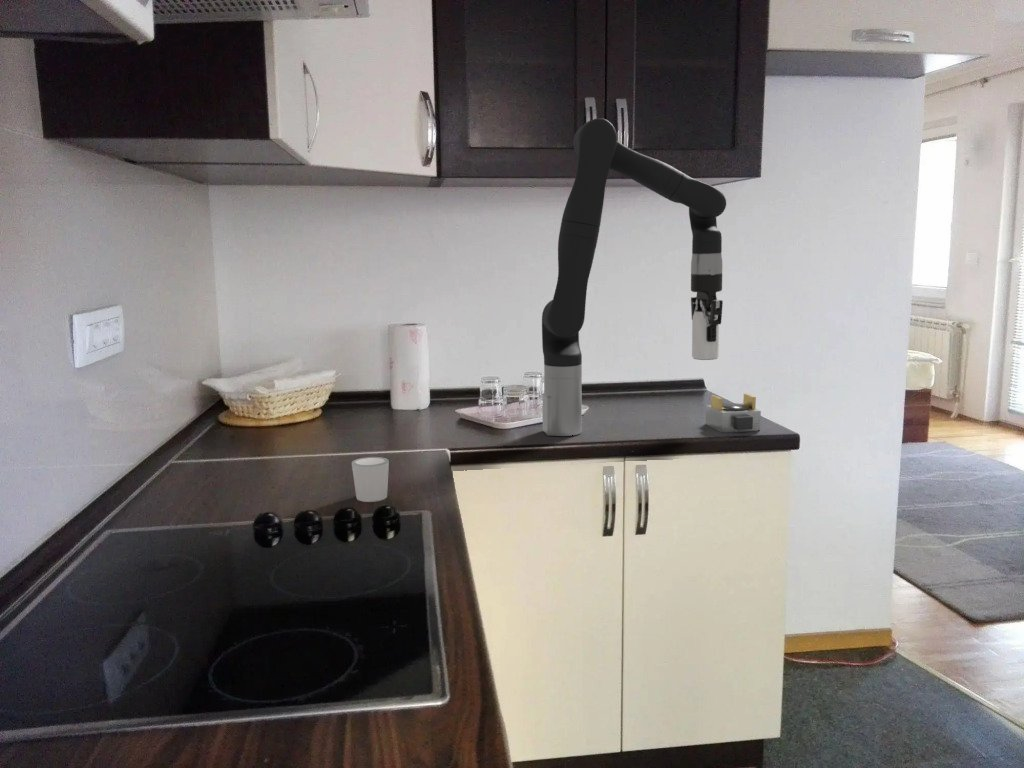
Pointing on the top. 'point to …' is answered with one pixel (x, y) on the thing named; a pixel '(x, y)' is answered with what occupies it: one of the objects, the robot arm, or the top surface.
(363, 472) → the light grey cup
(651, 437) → the top surface
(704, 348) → the can
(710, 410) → the motor housing
